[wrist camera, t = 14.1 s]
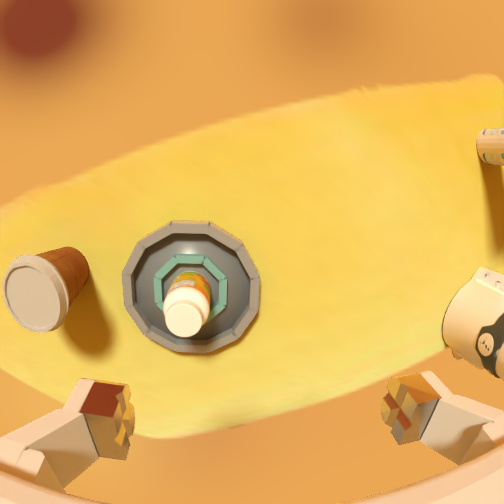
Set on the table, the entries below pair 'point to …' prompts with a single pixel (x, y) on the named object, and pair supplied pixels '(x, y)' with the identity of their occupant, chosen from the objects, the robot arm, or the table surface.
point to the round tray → (199, 260)
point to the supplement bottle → (187, 303)
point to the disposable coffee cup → (44, 287)
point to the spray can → (491, 146)
